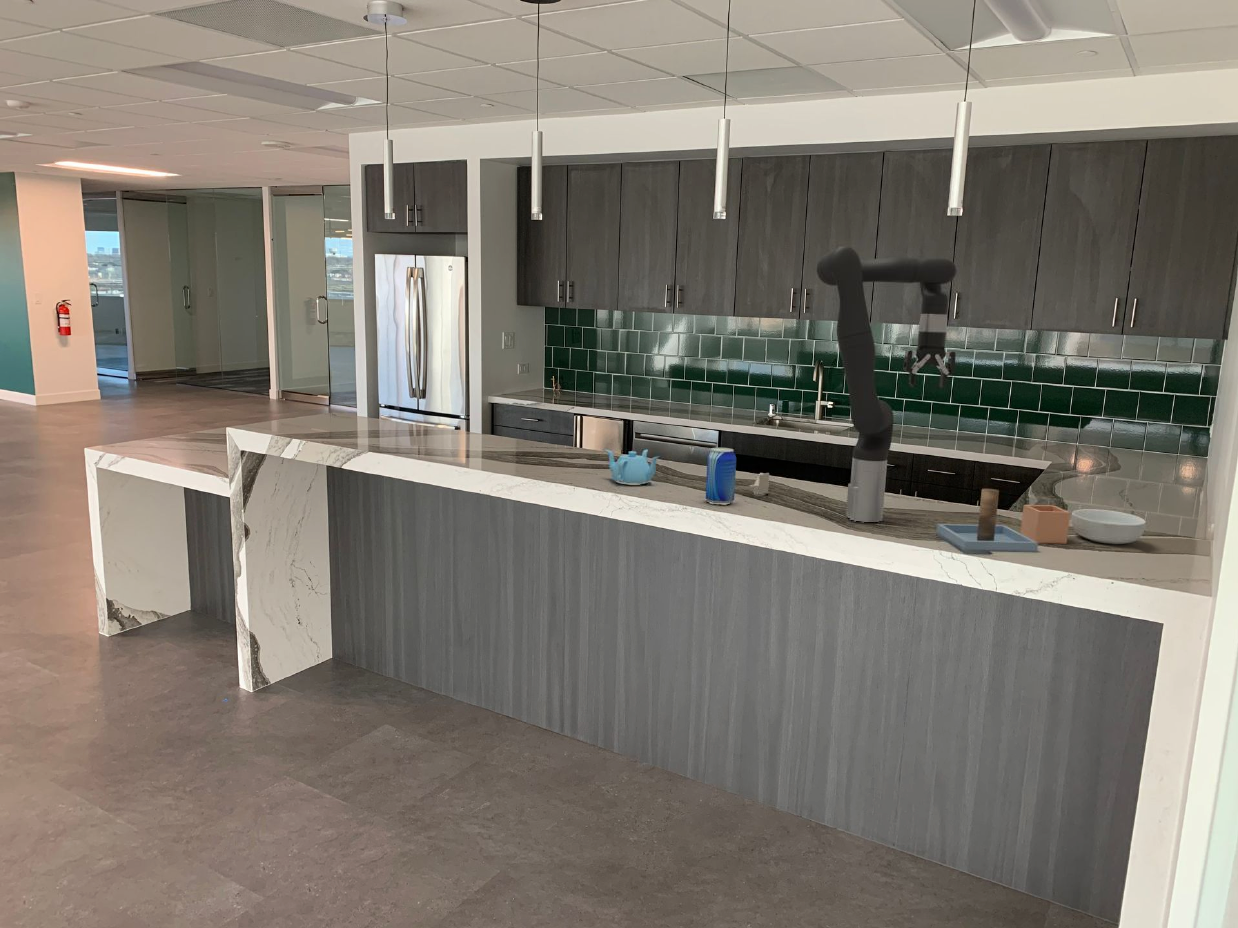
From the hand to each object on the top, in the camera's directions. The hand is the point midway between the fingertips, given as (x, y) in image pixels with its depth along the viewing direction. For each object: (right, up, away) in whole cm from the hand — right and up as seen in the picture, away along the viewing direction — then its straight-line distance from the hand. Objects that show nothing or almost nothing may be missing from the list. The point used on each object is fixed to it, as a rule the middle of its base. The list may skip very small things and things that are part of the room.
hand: (927, 387), depth 267 cm
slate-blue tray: (+3, -43, -33) cm, 54 cm away
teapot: (-84, -28, +34) cm, 95 cm away
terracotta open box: (+20, -42, -28) cm, 55 cm away
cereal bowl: (+37, -43, -27) cm, 63 cm away
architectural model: (-45, -33, +19) cm, 59 cm away
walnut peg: (+4, -42, -33) cm, 53 cm away
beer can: (-59, -34, +7) cm, 68 cm away
